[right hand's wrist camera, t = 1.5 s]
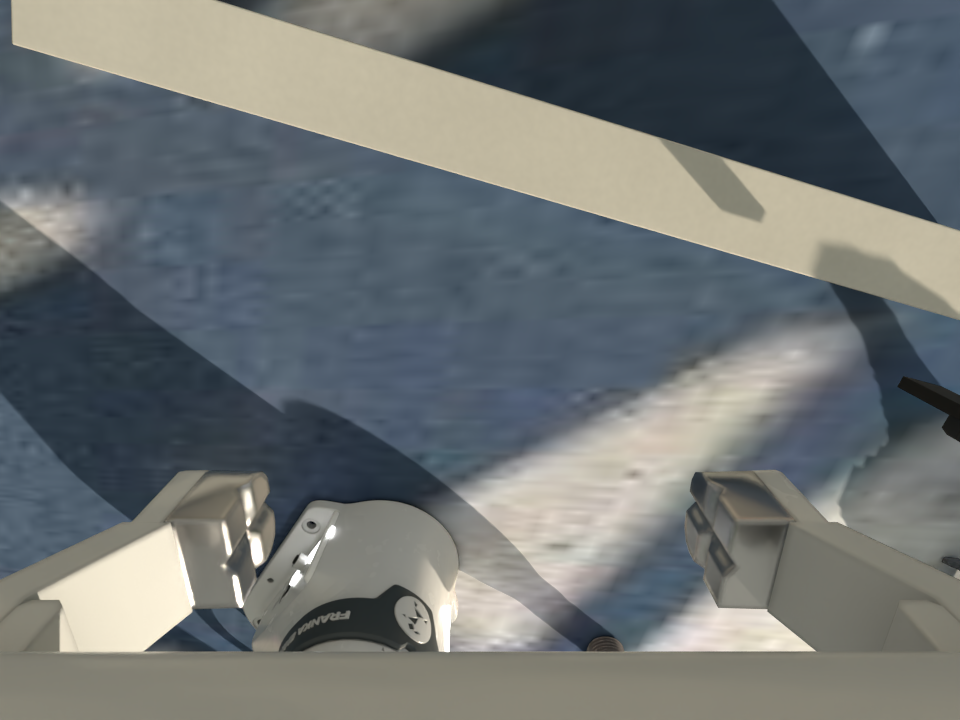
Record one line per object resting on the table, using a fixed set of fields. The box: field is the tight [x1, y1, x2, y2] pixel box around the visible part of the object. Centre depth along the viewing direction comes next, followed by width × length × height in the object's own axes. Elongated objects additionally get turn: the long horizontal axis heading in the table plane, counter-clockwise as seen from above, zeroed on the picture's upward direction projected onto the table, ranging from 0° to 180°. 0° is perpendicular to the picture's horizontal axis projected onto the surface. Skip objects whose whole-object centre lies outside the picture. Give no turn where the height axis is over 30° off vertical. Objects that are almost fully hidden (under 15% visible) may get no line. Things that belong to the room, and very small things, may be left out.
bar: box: [11, 0, 960, 320], centre depth 37 cm, size 64×5×8 cm, turn 75°
